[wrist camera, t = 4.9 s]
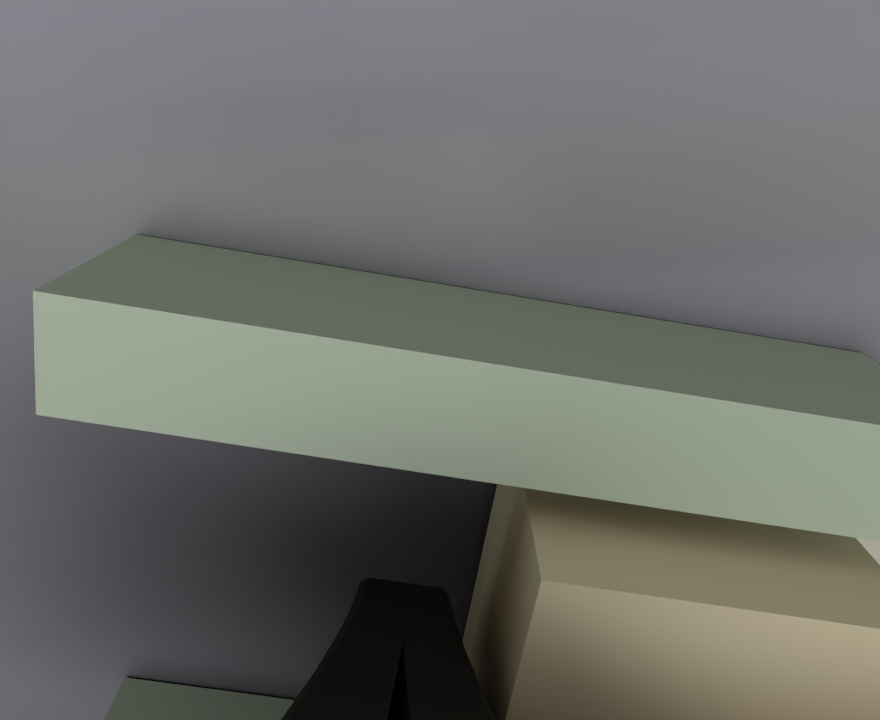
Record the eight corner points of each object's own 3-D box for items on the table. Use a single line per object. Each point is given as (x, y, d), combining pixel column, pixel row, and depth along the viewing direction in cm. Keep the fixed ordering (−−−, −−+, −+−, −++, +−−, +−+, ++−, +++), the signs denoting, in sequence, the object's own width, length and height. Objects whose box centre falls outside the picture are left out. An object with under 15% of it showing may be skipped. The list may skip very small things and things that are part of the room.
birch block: (684, 743, 14) (770, 983, 11) (446, 711, 14) (447, 946, 10) (790, 462, 12) (942, 638, 8) (511, 419, 12) (541, 580, 8)
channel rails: (684, 811, 15) (739, 979, 12) (123, 738, 15) (47, 898, 12) (862, 353, 12) (994, 443, 9) (137, 233, 11) (33, 290, 8)
